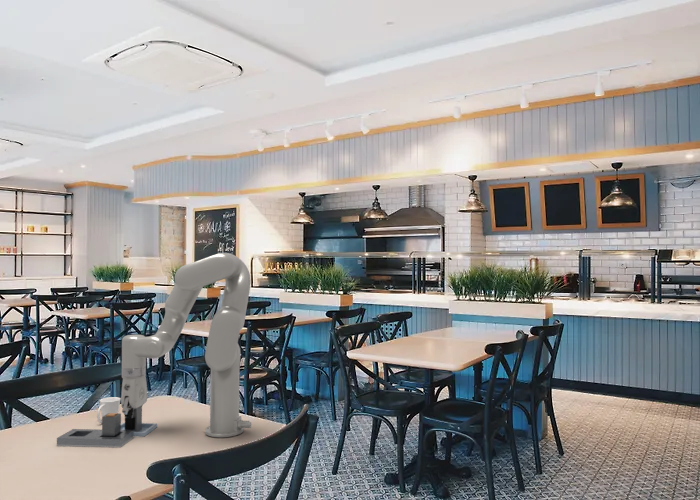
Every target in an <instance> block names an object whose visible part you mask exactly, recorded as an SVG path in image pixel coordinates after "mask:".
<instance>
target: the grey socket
mask: <svg viewBox="0 0 700 500" xmlns="http://www.w3.org/2000/svg"><path fill="white" fill-rule="evenodd" d="M101 418H102V419H101V421H102V423H101V429H94V428H93V429H92V428H89V429H88V428H87V429H85V428H84V429H83V428H73V429H71V430H69V431H67V432H65V433H63V434H62V435H60V436H58V437H56V447H75V448H76V447H82V448H87V447H88V448H121V447H123V446H124V445H125V444H127V443H128V442H130V441H131V440H132V439H134V436H133V430H121V424H122V413H119V412H118V413H108V414H106V415H105V416H103V417H102V416H101Z"/></svg>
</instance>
